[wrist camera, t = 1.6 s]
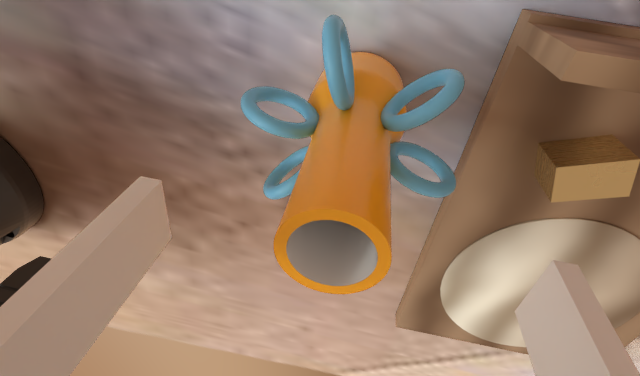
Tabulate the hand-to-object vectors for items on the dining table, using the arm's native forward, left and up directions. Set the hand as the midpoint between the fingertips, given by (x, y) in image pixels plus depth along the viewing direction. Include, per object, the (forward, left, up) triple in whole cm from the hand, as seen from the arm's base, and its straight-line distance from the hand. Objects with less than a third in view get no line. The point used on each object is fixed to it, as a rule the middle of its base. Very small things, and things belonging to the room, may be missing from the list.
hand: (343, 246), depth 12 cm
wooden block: (+14, -1, -13) cm, 19 cm away
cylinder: (0, 0, -15) cm, 15 cm away
